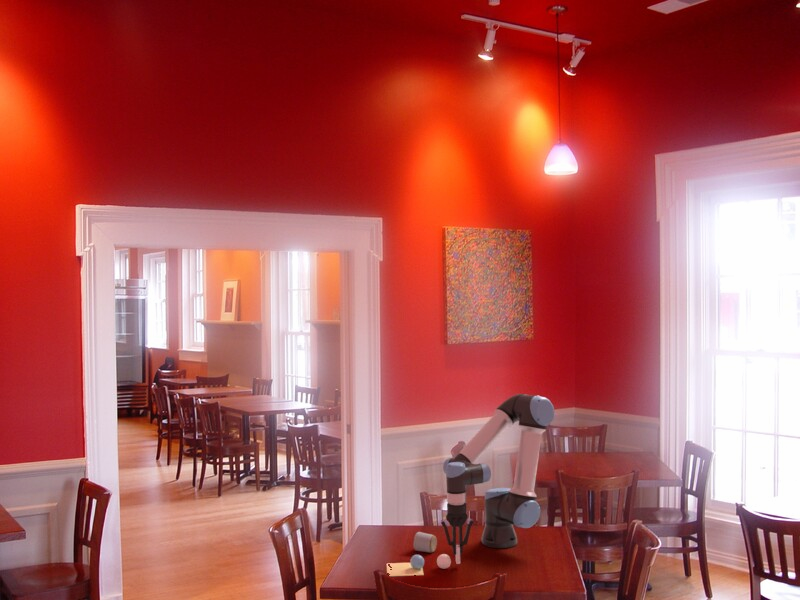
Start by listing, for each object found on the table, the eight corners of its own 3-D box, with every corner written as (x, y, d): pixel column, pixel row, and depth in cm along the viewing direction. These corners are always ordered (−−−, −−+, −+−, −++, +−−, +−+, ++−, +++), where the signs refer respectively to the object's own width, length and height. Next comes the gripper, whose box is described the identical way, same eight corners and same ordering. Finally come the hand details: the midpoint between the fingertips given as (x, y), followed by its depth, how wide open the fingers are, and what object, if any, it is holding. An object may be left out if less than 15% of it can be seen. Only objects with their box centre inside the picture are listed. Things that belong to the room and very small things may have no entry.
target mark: (421, 562, 312) (421, 562, 312) (423, 575, 298) (423, 574, 298) (386, 563, 312) (386, 563, 312) (387, 576, 298) (387, 576, 298)
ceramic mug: (431, 555, 321) (430, 536, 321) (413, 552, 324) (412, 534, 324) (441, 548, 330) (440, 529, 330) (423, 545, 334) (423, 527, 334)
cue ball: (437, 550, 307) (434, 564, 307) (439, 556, 302) (436, 570, 302) (450, 552, 308) (448, 566, 308) (453, 558, 302) (450, 572, 303)
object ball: (421, 550, 308) (408, 554, 308) (422, 555, 302) (408, 559, 302) (425, 564, 308) (412, 568, 308) (426, 569, 302) (412, 573, 302)
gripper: (471, 499, 309) (473, 558, 310) (439, 500, 309) (440, 559, 309) (474, 504, 302) (475, 565, 302) (440, 505, 301) (442, 566, 302)
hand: (458, 562), depth 306 cm, fingers closed
